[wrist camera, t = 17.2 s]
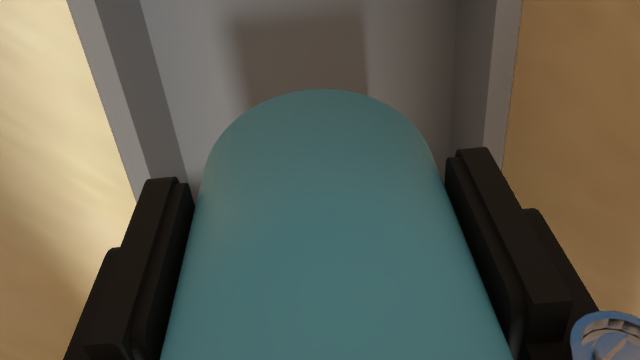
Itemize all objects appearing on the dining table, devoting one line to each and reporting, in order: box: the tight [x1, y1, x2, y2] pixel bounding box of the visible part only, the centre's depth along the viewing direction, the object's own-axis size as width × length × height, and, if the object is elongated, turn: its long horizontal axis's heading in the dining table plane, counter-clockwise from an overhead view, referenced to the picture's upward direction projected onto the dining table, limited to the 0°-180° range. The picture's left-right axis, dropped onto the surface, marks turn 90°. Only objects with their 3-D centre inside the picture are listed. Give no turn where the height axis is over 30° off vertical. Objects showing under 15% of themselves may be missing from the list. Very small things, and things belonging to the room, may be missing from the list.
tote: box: [66, 0, 523, 206], centre depth 22 cm, size 18×14×5 cm
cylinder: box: [160, 89, 514, 360], centre depth 9 cm, size 5×5×7 cm
